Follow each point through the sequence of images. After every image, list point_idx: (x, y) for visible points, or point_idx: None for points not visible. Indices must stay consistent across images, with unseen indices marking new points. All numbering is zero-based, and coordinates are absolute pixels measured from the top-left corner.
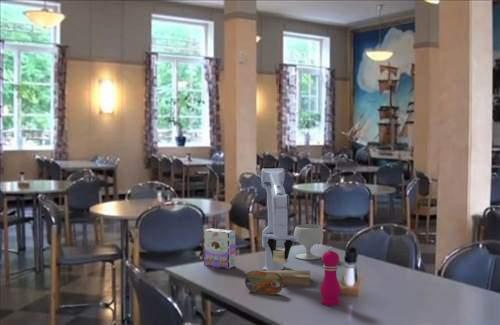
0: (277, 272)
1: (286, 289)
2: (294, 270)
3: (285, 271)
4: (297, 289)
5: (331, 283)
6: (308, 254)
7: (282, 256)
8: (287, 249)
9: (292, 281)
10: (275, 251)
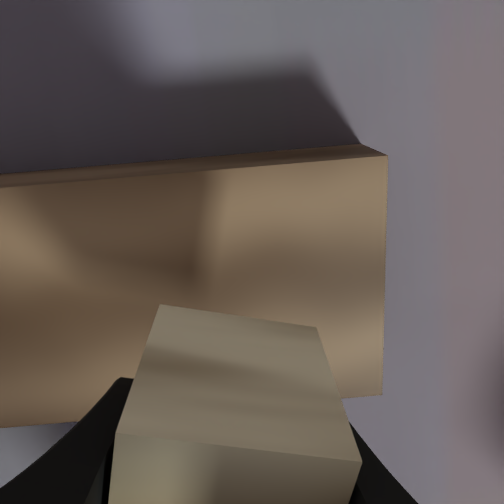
0: None
1: (125, 21)
2: None
3: None
4: (17, 41)
5: None
6: None
7: (166, 370)
8: (17, 489)
9: (82, 172)
10: (309, 446)
